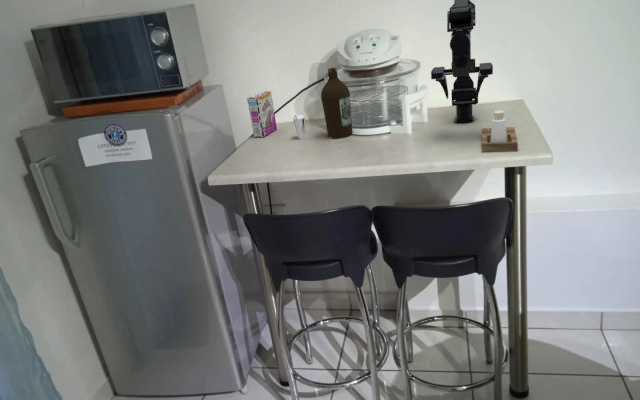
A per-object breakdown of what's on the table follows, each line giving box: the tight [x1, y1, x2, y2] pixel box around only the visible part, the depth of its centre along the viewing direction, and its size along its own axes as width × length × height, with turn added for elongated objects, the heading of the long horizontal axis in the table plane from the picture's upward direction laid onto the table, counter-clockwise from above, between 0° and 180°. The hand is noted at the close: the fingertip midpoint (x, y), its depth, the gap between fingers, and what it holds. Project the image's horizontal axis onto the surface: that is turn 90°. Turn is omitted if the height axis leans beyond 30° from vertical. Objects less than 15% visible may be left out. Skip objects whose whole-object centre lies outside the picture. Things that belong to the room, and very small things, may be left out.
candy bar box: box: [246, 90, 278, 139], centre depth 199 cm, size 11×5×16 cm, turn 154°
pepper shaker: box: [490, 109, 507, 143], centre depth 149 cm, size 5×5×11 cm
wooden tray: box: [481, 126, 519, 153], centre depth 153 cm, size 16×10×2 cm, turn 163°
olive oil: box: [320, 66, 353, 139], centre depth 181 cm, size 11×11×25 cm
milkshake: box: [292, 113, 307, 140], centre depth 187 cm, size 5×5×10 cm
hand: (462, 97), depth 159 cm, fingers open, 9 cm apart
